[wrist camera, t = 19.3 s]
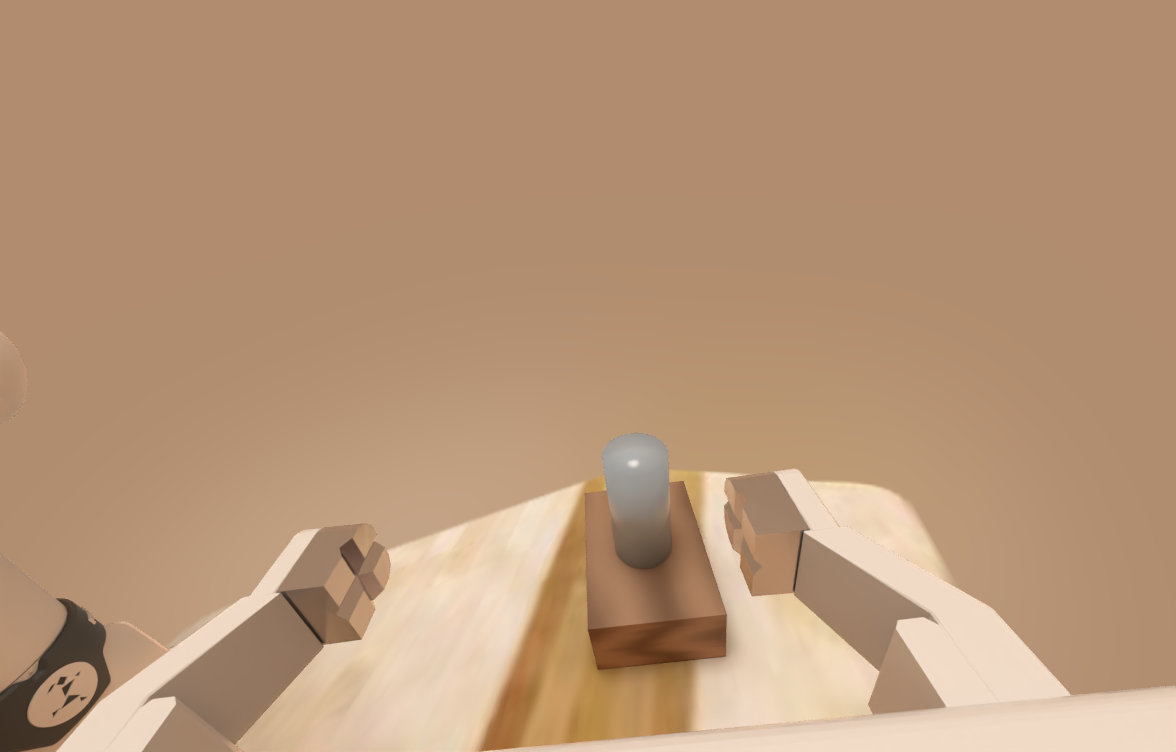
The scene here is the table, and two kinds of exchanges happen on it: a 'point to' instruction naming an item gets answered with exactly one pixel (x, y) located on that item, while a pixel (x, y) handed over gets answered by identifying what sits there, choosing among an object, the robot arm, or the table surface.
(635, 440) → the metal cylinder
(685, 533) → the walnut block
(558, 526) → the table surface
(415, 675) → the table surface
